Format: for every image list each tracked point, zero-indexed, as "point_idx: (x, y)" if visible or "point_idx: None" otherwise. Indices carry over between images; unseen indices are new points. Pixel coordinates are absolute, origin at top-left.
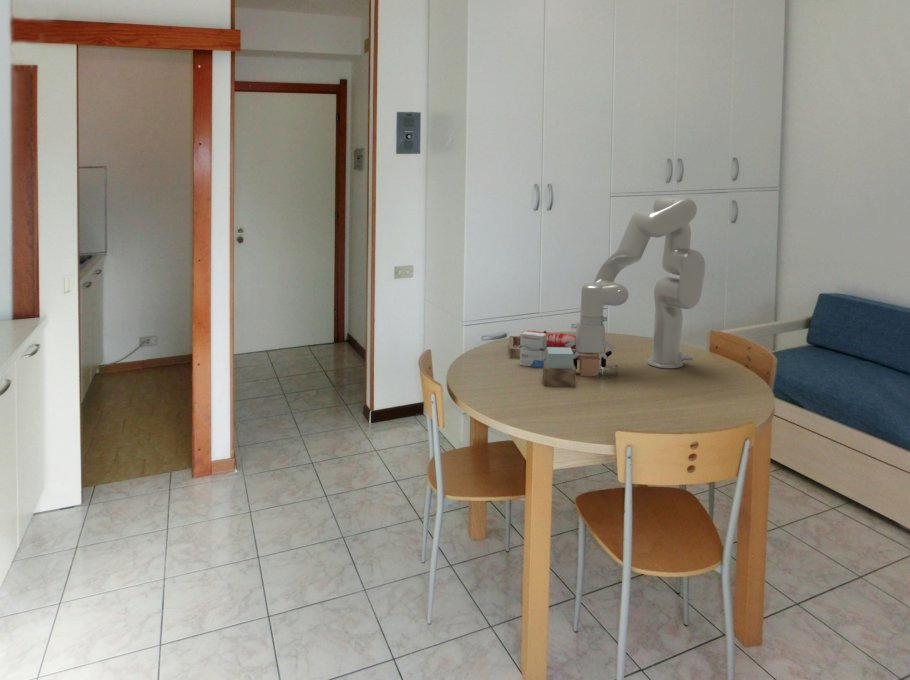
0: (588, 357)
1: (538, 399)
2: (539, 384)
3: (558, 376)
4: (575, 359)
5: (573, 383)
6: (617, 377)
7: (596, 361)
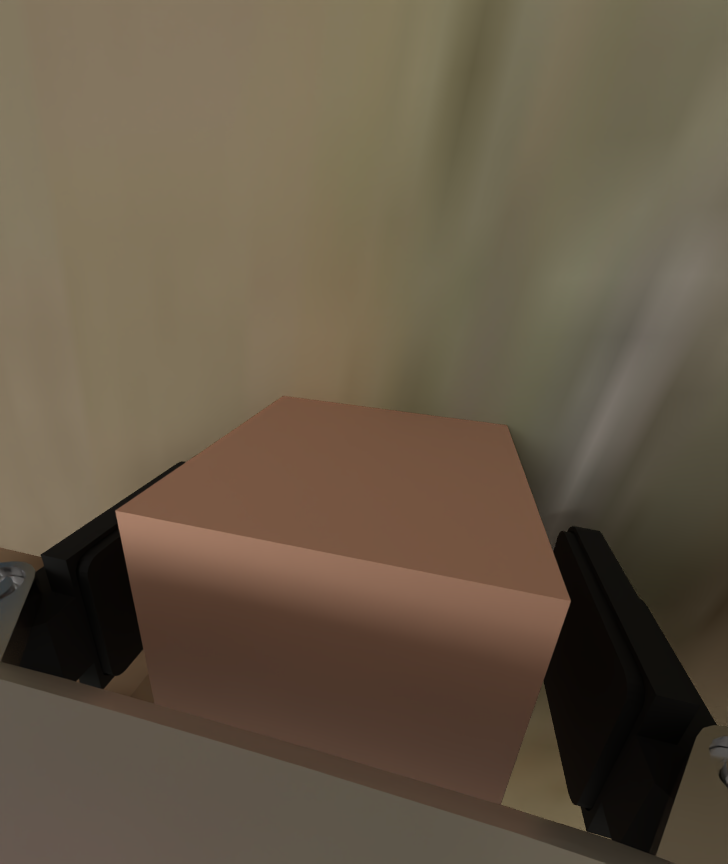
0: (291, 722)
1: None
2: None
3: None
4: (93, 672)
5: None
6: (687, 672)
7: None
